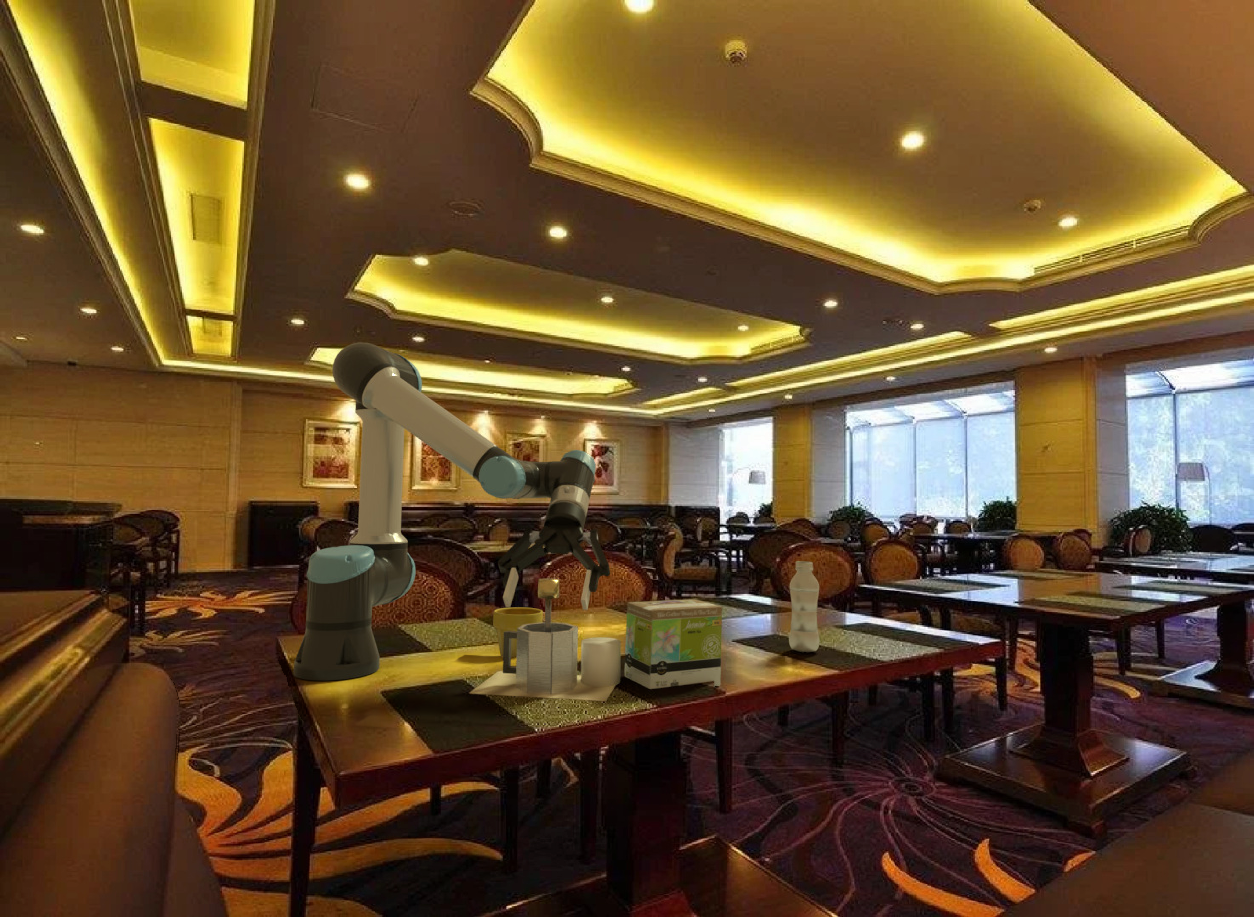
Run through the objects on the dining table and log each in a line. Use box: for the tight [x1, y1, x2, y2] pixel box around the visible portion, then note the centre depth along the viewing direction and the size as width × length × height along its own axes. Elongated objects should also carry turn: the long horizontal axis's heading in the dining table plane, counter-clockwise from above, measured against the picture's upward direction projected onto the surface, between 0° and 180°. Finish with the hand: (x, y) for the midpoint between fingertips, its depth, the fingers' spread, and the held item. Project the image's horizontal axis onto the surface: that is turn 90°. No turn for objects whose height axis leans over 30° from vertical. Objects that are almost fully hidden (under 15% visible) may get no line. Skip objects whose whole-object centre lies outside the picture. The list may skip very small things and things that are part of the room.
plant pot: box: [492, 606, 544, 658], centre depth 144 cm, size 10×10×10 cm
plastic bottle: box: [788, 560, 820, 653], centre depth 154 cm, size 6×7×20 cm
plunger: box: [537, 577, 560, 632], centre depth 118 cm, size 7×7×15 cm
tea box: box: [624, 599, 723, 690], centre depth 125 cm, size 15×10×15 cm, turn 117°
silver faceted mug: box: [502, 621, 579, 695], centre depth 118 cm, size 13×10×10 cm
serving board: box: [469, 670, 616, 702], centre depth 119 cm, size 23×15×1 cm, turn 82°
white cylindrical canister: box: [580, 636, 622, 687], centre depth 122 cm, size 7×7×7 cm
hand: (544, 603), depth 116 cm, fingers open, 13 cm apart
